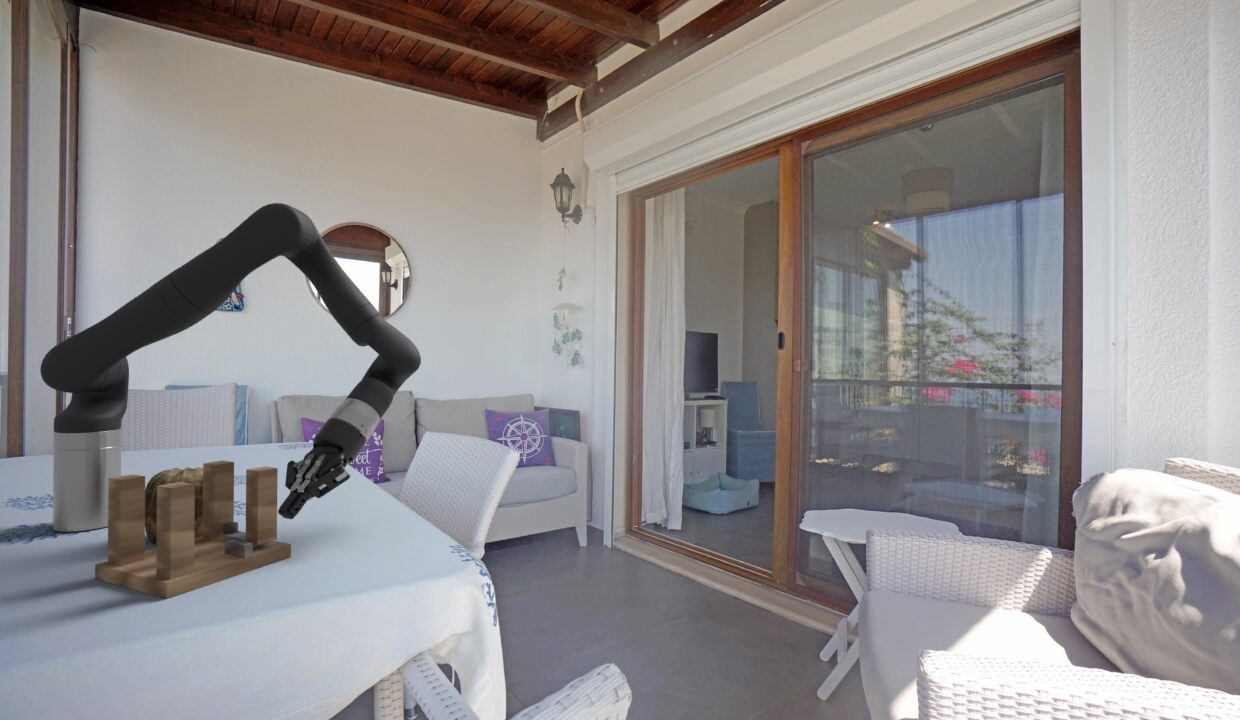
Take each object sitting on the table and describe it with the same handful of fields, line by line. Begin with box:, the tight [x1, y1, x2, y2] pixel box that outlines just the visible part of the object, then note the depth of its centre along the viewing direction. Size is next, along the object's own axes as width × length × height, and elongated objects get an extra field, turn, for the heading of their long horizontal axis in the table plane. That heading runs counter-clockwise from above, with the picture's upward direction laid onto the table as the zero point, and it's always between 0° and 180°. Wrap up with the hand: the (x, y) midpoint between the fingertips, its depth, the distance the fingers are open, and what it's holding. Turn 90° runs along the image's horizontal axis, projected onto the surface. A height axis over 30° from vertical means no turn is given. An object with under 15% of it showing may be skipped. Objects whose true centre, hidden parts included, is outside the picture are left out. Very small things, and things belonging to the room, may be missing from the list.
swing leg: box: [223, 465, 279, 548], centre depth 95 cm, size 10×3×12 cm, turn 62°
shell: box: [145, 466, 203, 545], centre depth 104 cm, size 11×11×12 cm
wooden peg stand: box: [94, 459, 292, 600], centre depth 90 cm, size 16×18×14 cm
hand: (284, 516), depth 97 cm, fingers closed
